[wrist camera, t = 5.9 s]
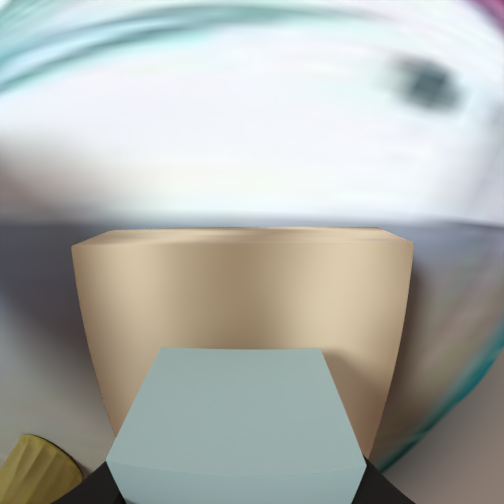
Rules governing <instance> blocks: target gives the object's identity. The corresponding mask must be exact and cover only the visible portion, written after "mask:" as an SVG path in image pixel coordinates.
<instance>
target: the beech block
mask: <svg viewBox="0 0 504 504" xmlns="http://www.w3.org/2000/svg"><path fill="white" fill-rule="evenodd" d="M413 248H414V243H413V242H411V241H408V240H406V239H404V238H401V237H399V236H397V235H394V234H392V233H389V232H387V231H384V230H382V229H380V228H377V227H216V228H167V229H132V230H110V231H107V232H105V233H102V234H100V235H97V236H95V237H92V238H90V239H87V240H85V241H83V242H80V243H78V244H75V245H73V246H71V250H72V259H73V266H74V273H75V280H76V286H77V293H78V298H79V304H80V309H81V314H82V319H83V324H84V329H85V334H86V338H87V342H88V347H89V351H90V355H91V359H92V363H93V366H94V370H95V374H96V377H97V381H98V384H99V388H100V391H101V394H102V398H103V401H104V404H105V407H106V410H107V413H108V416H109V419H110V422H111V425H112V428H113V430H114V433H115V436H116V437H117V435H118V433H119V431H120V429H121V427H122V424H123V422H124V420H125V418H126V416H127V414H128V412H129V410H130V408H131V406H132V404H133V402H134V400H135V398H136V396H137V394H138V392H139V390H140V388H141V386H142V384H143V382H144V380H145V378H146V376H147V374H148V372H149V370H150V368H151V366H152V364H153V362H154V360H155V358H156V356H157V354H158V352H159V350H160V348H161V347H177V348H199V349H304V348H320V349H321V352H322V354H323V357H324V359H325V361H326V364H327V366H328V369H329V371H330V374H331V376H332V379H333V381H334V384H335V386H336V389H337V391H338V394H339V396H340V399H341V401H342V404H343V406H344V409H345V411H346V414H347V416H348V419H349V421H350V424H351V426H352V429H353V432H354V434H355V437H356V439H357V442H358V444H359V447H360V450H361V452H362V453H363V455H364V456H365V457H366V458H367V459H368V458H369V455H370V452H371V449H372V446H373V443H374V440H375V437H376V434H377V431H378V428H379V425H380V421H381V418H382V414H383V411H384V407H385V404H386V400H387V396H388V393H389V389H390V385H391V381H392V377H393V372H394V368H395V364H396V359H397V354H398V350H399V345H400V340H401V335H402V329H403V324H404V318H405V312H406V305H407V299H408V292H409V284H410V276H411V268H412V258H413Z"/></svg>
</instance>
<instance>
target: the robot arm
mask: <svg viewBox="0 0 504 504" xmlns="http://www.w3.org/2000/svg"><path fill="white" fill-rule="evenodd" d="M362 455H363V453H362ZM363 457H364V460H365V463H366V465H367V466H366V469H365V471H364V474H363V476H362V479H361V481H360V484H359V486H358V489H357V491H356V494H355V496H354V498H353V501H352V503H351V504H415V503H414V502H413V501H411V500H410V499H409V498H408V497H406V496H405V495H404V494H402V493H401V492H400V491H399V490H398V489H397V488H396V487H395V486H393V485H392V484H391V483H390V482H389V481H388V480H387V479H386V478H385V477H384V476H383V475H382V474H381V473H380V472H379V471H378V470H377V469H376V468H375V467H374V466H373V465H372V464H371V463H370V461H369V460H368V459H367V458H366V457H365V456H364V455H363ZM50 504H126V502H125V500H124V498H123V496H122V494H121V492H120V490H119V488H118V486H117V484H116V482H115V480H114V478H113V475H112V473H111V471H110V469H109V467H108V464H107V462H106V461H105V462H104V463H103V464H102V465H101V466H100V467H99V468H97V469H96V470H95V471H94V472H93V473H92V474H90V475H89V476H88V477H87V478H86V479H85V480H83V481H82V482H81V483H80V484H78V485H77V486H76V487H75V488H73V489H72V490H70V491H69V492H68V493H66V494H65V495H63V496H62V497H60V498H59V499H57V500H55V501H54V502H52V503H50Z"/></svg>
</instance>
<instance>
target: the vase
mask: <svg viewBox="0 0 504 504" xmlns="http://www.w3.org/2000/svg"><path fill="white" fill-rule="evenodd" d="M81 482H82V475H81V472H80V470H79V468H78V467H77V465H76V464H75V463H74V462H73V461H72V459H71V458H70V457H69V456H67V455H66V454H65V453H64V452H63V451H62V450H60V449H59V448H58V447H56V446H55V445H53V444H52V443H50V442H48V441H46V440H45V439H42V438H40V437H37V436H34V435H23V436H21V437H20V438H19V441H18V443H17V445H16V446H15V448H14V449H13V451H12V452H11V454H10V455H9V457H8V458H7V460H6V462H5V463H4V465H3V466H2V468H1V470H0V504H50V503H52V502H54V501H55V500H57V499H59V498H60V497H62V496H63V495H65V494H66V493H68V492H69V491H70V490H72V489H73V488H75V487H76V486H77V485H78V484H80V483H81Z"/></svg>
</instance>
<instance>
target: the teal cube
mask: <svg viewBox="0 0 504 504" xmlns="http://www.w3.org/2000/svg"><path fill="white" fill-rule="evenodd" d="M106 462H107V464H108V467H109V469H110V471H111V473H112V475H113V478H114V480H115V482H116V484H117V486H118V488H119V490H120V492H121V494H122V496H123V498H124V500H125V502H126V504H351V503H352V501H353V498H354V496H355V494H356V491H357V489H358V486H359V484H360V481H361V479H362V476H363V474H364V471H365V469H366V466H367V465H366V463H365V460H364V457H363V455H362V452H361V450H360V447H359V444H358V442H357V439H356V437H355V434H354V432H353V429H352V426H351V424H350V421H349V419H348V416H347V414H346V411H345V409H344V406H343V404H342V401H341V399H340V396H339V394H338V391H337V389H336V386H335V384H334V381H333V379H332V376H331V374H330V371H329V369H328V366H327V364H326V361H325V359H324V357H323V354H322V352H321V349H320V348H304V349H199V348H177V347H161V348H160V350H159V352H158V354H157V356H156V358H155V360H154V362H153V364H152V366H151V368H150V370H149V372H148V374H147V376H146V378H145V380H144V382H143V384H142V386H141V388H140V390H139V392H138V394H137V396H136V398H135V400H134V402H133V404H132V406H131V408H130V410H129V412H128V414H127V416H126V418H125V420H124V422H123V424H122V427H121V429H120V431H119V433H118V435H117V437H116V439H115V441H114V443H113V445H112V448H111V450H110V452H109V454H108V456H107V458H106Z"/></svg>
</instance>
